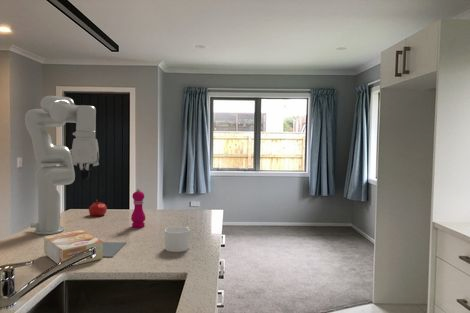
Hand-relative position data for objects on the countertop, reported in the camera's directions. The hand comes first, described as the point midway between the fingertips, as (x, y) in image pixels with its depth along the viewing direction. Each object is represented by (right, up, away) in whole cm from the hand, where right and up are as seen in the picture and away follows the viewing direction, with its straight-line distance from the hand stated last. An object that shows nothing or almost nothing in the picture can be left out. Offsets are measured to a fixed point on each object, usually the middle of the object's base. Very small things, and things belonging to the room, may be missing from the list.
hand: (85, 179), depth 155 cm
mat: (+5, -29, -3) cm, 29 cm away
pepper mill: (+13, -27, +37) cm, 48 cm away
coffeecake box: (-6, -25, -6) cm, 26 cm away
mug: (+39, -29, +2) cm, 49 cm away
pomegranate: (-18, -25, +62) cm, 70 cm away
